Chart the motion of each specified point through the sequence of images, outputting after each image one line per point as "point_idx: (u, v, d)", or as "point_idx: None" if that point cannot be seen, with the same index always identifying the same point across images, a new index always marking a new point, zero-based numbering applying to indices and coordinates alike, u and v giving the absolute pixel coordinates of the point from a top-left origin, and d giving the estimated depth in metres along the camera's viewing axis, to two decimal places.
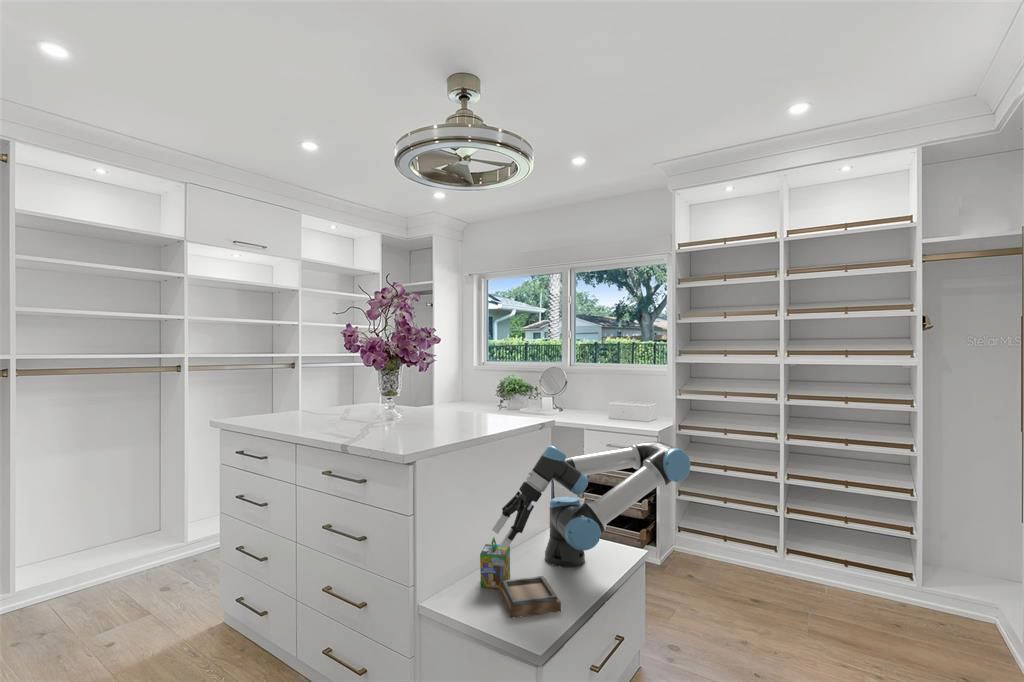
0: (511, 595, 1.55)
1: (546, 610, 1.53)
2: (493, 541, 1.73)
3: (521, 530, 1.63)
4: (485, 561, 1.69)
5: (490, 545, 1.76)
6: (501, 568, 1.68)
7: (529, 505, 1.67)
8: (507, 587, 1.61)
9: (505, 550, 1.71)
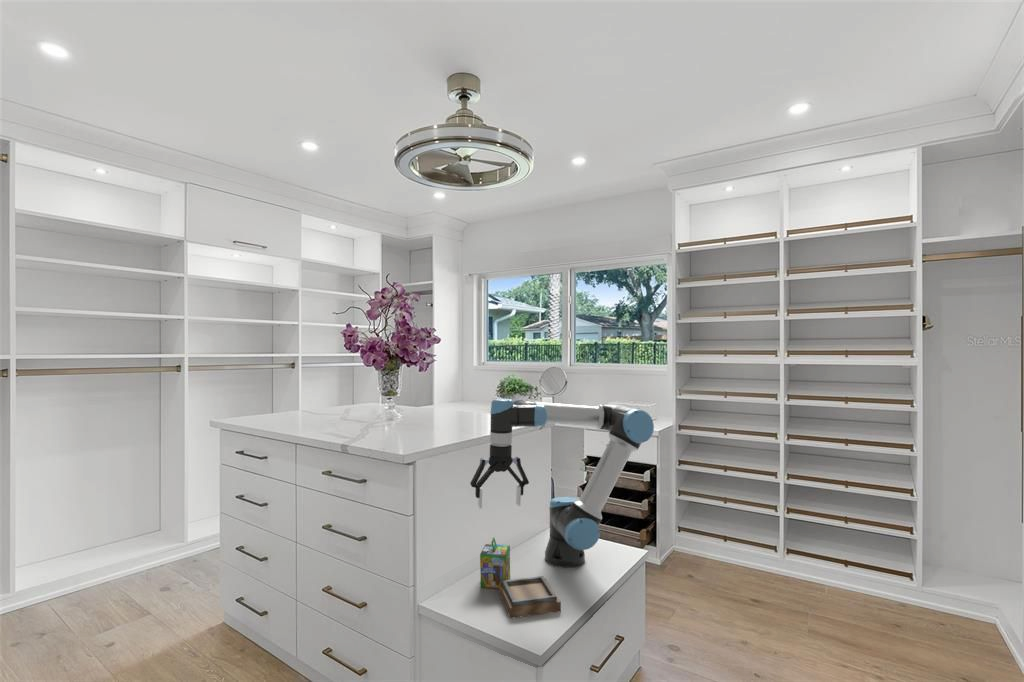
0: (511, 595, 1.55)
1: (546, 610, 1.53)
2: (493, 541, 1.73)
3: (471, 484, 1.69)
4: (485, 561, 1.69)
5: (490, 545, 1.76)
6: (501, 568, 1.68)
7: (480, 460, 1.71)
8: (507, 587, 1.61)
9: (505, 550, 1.71)
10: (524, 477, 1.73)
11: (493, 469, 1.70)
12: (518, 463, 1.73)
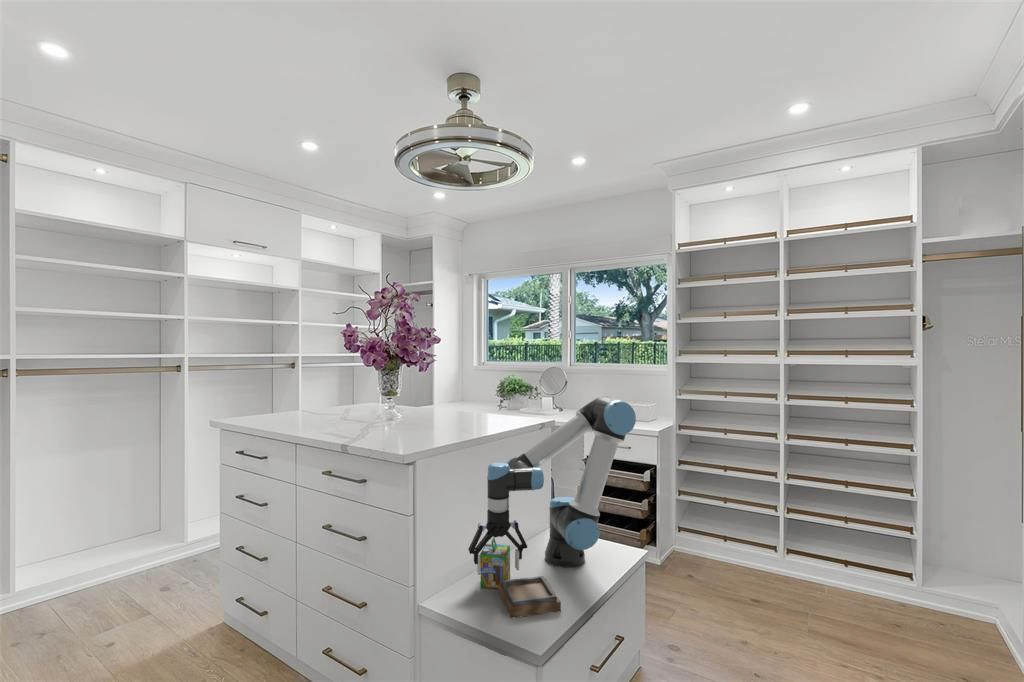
0: (511, 595, 1.55)
1: (546, 610, 1.53)
2: (493, 541, 1.73)
3: (469, 550, 1.69)
4: (485, 561, 1.69)
5: (490, 545, 1.76)
6: (501, 568, 1.68)
7: (478, 525, 1.71)
8: (507, 587, 1.61)
9: (505, 550, 1.71)
10: (522, 541, 1.73)
11: (491, 535, 1.70)
12: (516, 528, 1.72)
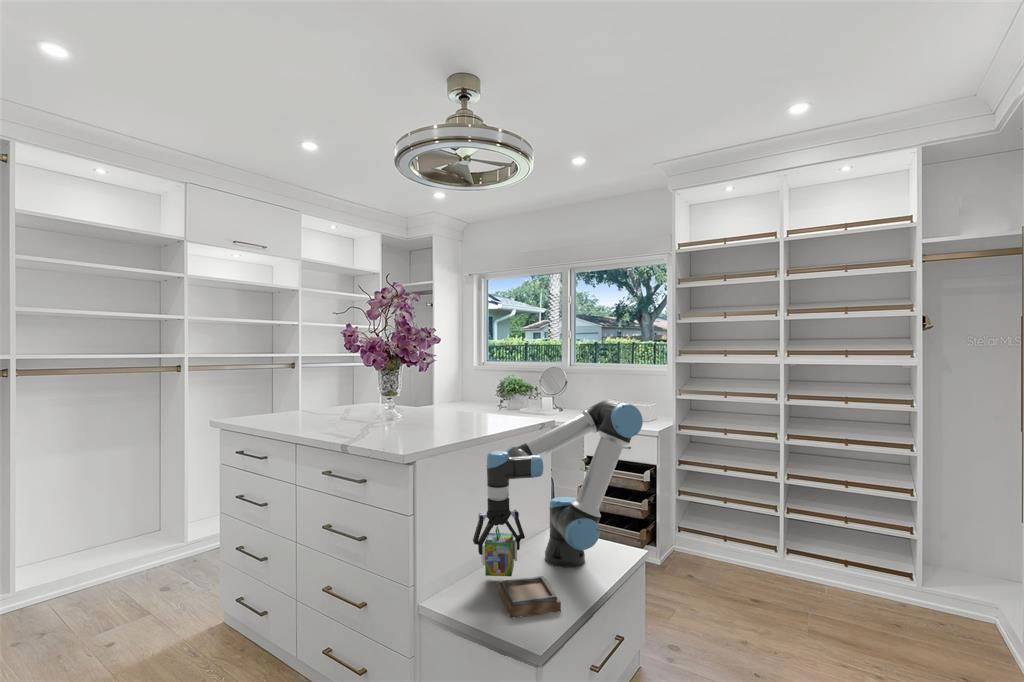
0: (511, 595, 1.55)
1: (546, 610, 1.53)
2: (497, 530, 1.73)
3: (474, 541, 1.69)
4: (490, 550, 1.69)
5: (493, 534, 1.76)
6: (506, 556, 1.68)
7: None
8: (507, 587, 1.61)
9: (509, 538, 1.72)
10: (520, 531, 1.73)
11: (492, 524, 1.70)
12: (516, 517, 1.72)
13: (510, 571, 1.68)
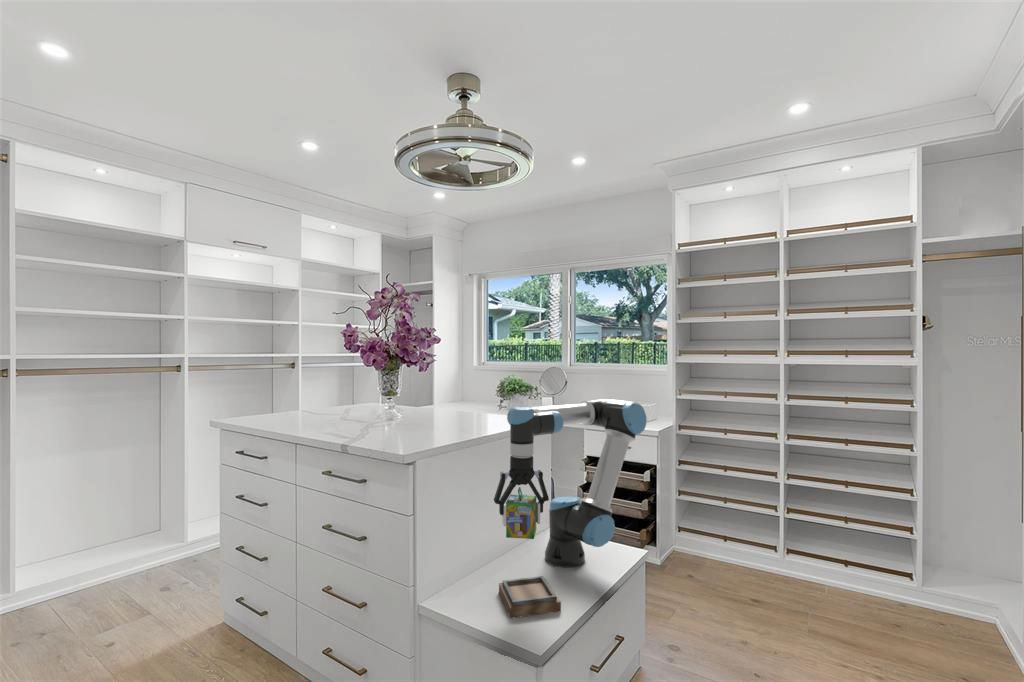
0: (511, 595, 1.55)
1: (546, 610, 1.53)
2: (519, 490, 1.64)
3: (495, 500, 1.60)
4: (512, 510, 1.60)
5: (515, 495, 1.67)
6: (528, 517, 1.59)
7: (500, 474, 1.62)
8: (507, 587, 1.61)
9: (532, 499, 1.62)
10: (544, 493, 1.63)
11: (515, 483, 1.60)
12: (540, 477, 1.63)
13: (532, 533, 1.59)
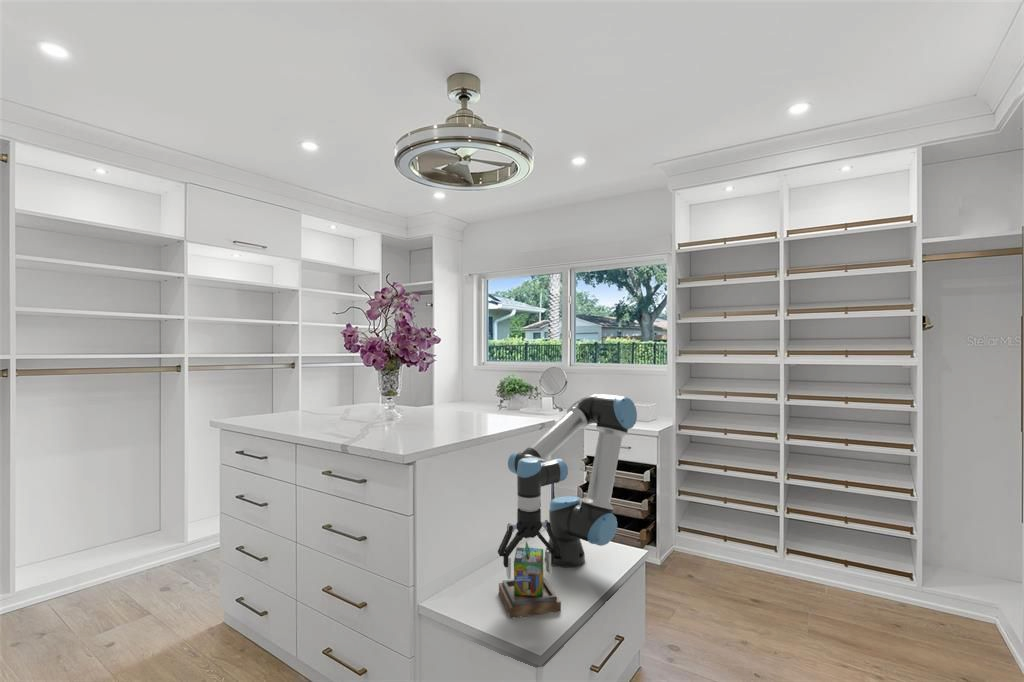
0: (511, 595, 1.55)
1: (546, 610, 1.53)
2: (526, 547, 1.59)
3: (499, 553, 1.57)
4: (520, 570, 1.56)
5: (522, 549, 1.63)
6: (537, 577, 1.56)
7: (508, 526, 1.59)
8: (507, 587, 1.61)
9: (540, 556, 1.59)
10: (554, 543, 1.61)
11: (521, 536, 1.58)
12: (548, 528, 1.60)
13: (541, 591, 1.56)
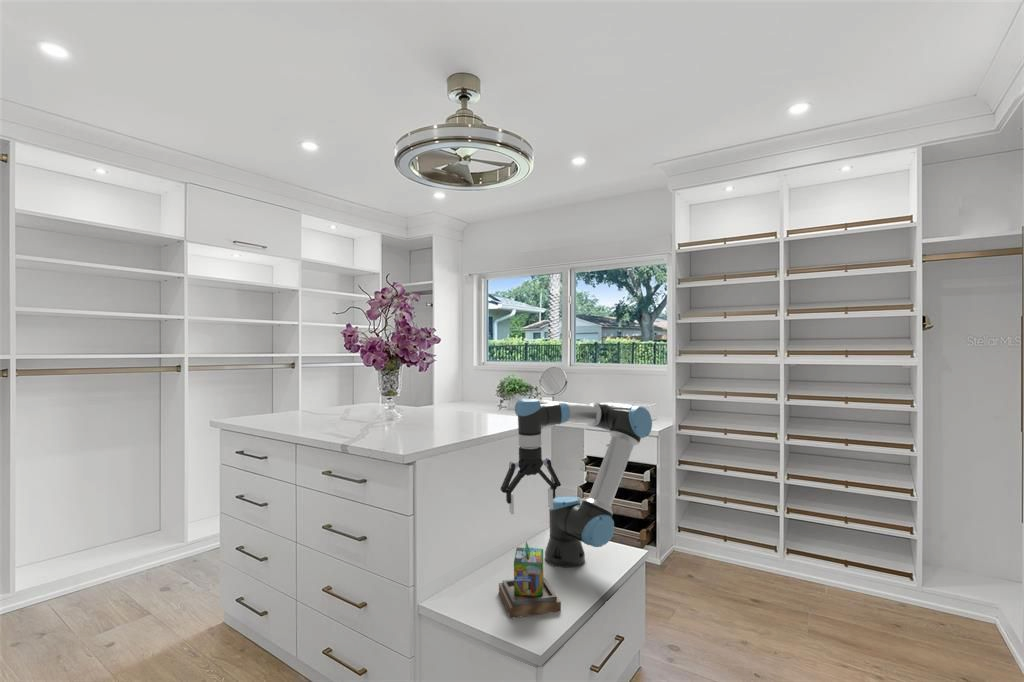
0: (511, 595, 1.55)
1: (546, 610, 1.53)
2: (526, 547, 1.59)
3: (502, 489, 1.62)
4: (520, 570, 1.56)
5: (522, 549, 1.63)
6: (537, 577, 1.56)
7: (510, 464, 1.64)
8: (507, 587, 1.61)
9: (540, 556, 1.59)
10: (556, 479, 1.66)
11: (524, 473, 1.63)
12: (549, 465, 1.66)
13: (541, 591, 1.56)
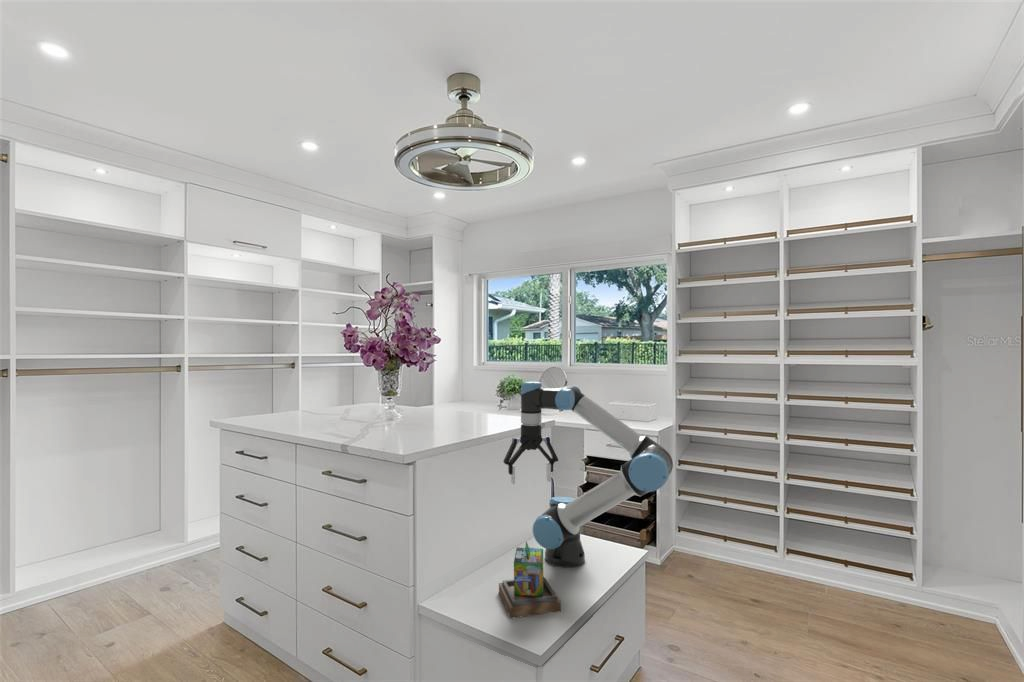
0: (511, 595, 1.55)
1: (546, 610, 1.53)
2: (526, 547, 1.59)
3: (504, 461, 1.80)
4: (520, 570, 1.56)
5: (522, 549, 1.63)
6: (537, 577, 1.56)
7: (512, 439, 1.82)
8: (507, 587, 1.61)
9: (540, 556, 1.59)
10: (554, 455, 1.84)
11: (524, 447, 1.81)
12: (548, 442, 1.83)
13: (541, 591, 1.56)
